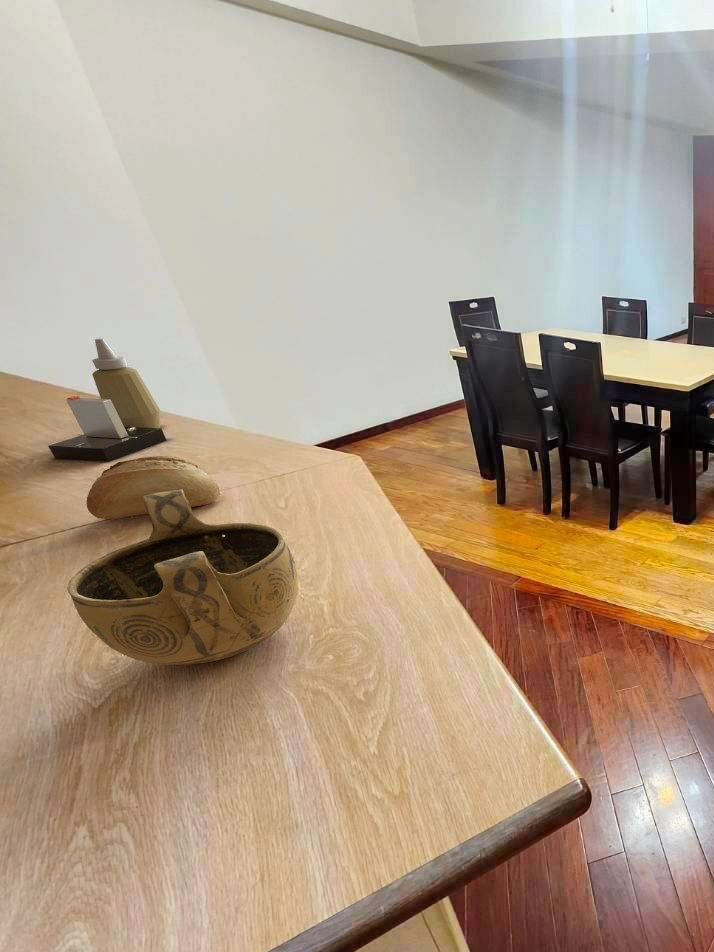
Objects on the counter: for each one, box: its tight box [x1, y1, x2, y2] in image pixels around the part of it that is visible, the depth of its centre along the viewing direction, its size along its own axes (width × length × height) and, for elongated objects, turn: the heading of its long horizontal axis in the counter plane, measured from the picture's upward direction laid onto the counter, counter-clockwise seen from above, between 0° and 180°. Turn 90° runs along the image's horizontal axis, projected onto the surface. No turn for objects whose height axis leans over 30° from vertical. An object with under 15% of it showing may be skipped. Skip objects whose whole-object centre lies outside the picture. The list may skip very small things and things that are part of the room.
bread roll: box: [86, 455, 221, 520], centre depth 90 cm, size 10×15×8 cm, turn 132°
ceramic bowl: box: [66, 490, 299, 666], centre depth 61 cm, size 22×17×15 cm
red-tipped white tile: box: [65, 395, 128, 439], centre depth 109 cm, size 7×2×7 cm, turn 86°
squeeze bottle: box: [91, 338, 162, 428], centre depth 118 cm, size 8×8×18 cm
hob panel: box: [47, 426, 167, 462], centre depth 112 cm, size 12×11×3 cm
